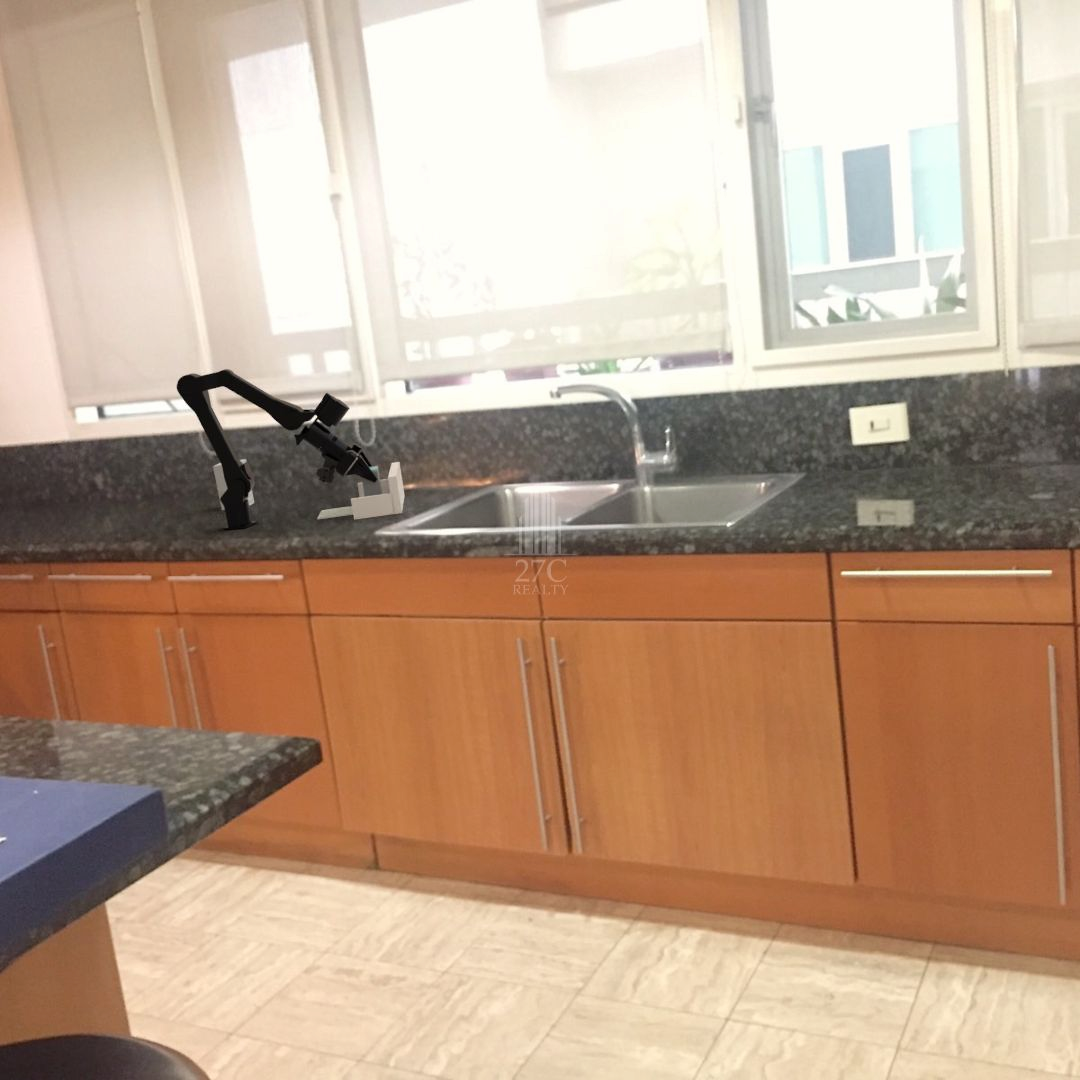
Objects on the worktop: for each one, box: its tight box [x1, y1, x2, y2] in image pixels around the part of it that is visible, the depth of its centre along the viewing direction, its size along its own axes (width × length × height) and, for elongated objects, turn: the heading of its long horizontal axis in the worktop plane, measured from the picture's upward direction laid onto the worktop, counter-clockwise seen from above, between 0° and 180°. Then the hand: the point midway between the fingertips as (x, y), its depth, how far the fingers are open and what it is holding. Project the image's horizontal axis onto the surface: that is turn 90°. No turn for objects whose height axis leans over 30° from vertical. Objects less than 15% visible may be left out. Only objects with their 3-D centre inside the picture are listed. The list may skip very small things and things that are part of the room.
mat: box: [316, 505, 353, 520], centre depth 298 cm, size 10×11×1 cm
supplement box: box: [212, 458, 255, 511], centre depth 328 cm, size 7×7×13 cm
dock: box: [350, 461, 405, 520], centre depth 297 cm, size 12×26×9 cm, turn 5°
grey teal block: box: [361, 465, 382, 497], centre depth 297 cm, size 4×6×10 cm, turn 5°
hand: (376, 479), depth 297 cm, fingers closed on grey teal block, 6 cm apart
